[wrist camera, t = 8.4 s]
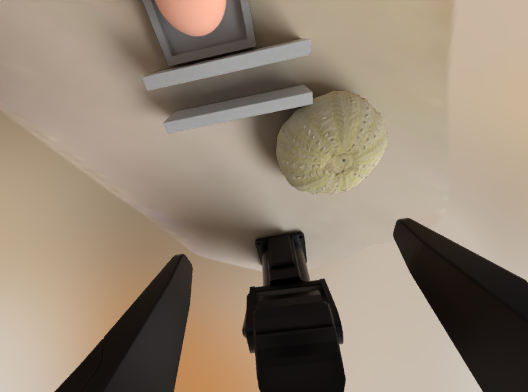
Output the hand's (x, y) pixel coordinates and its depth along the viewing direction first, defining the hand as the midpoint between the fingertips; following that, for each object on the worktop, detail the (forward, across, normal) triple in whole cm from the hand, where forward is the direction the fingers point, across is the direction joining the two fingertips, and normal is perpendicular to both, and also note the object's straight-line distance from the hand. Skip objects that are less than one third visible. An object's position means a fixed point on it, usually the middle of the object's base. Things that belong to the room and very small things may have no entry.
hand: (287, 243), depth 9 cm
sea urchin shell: (+13, -5, +2) cm, 14 cm away
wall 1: (+13, +2, -6) cm, 14 cm away
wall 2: (+13, +2, -3) cm, 13 cm away
